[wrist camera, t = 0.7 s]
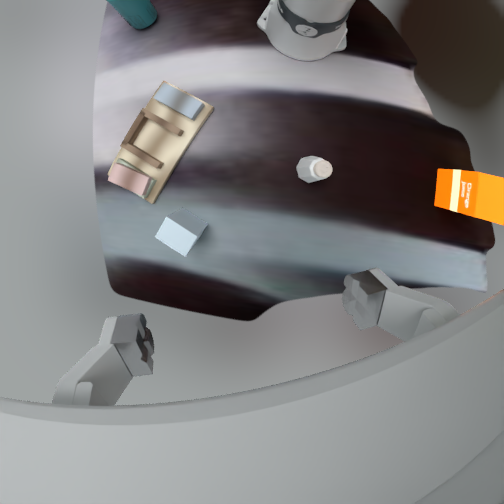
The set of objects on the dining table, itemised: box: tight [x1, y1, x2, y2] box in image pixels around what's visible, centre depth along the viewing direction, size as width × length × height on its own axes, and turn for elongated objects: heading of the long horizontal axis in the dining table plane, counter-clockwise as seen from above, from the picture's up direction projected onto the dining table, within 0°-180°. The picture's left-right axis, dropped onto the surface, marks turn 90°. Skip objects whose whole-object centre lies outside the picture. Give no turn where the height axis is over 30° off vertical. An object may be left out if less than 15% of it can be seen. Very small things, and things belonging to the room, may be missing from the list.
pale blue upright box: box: [155, 208, 208, 257], centre depth 49 cm, size 6×4×11 cm, turn 56°
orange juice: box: [434, 169, 504, 225], centre depth 42 cm, size 8×9×20 cm
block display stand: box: [108, 81, 214, 204], centre depth 46 cm, size 12×22×6 cm, turn 146°
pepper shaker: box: [296, 156, 332, 183], centre depth 46 cm, size 5×5×11 cm
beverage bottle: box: [107, 0, 157, 29], centre depth 31 cm, size 6×7×20 cm
